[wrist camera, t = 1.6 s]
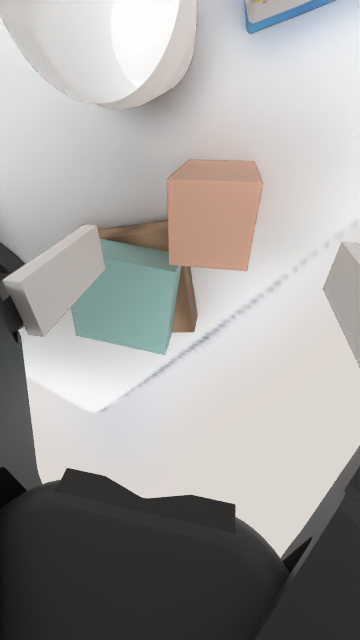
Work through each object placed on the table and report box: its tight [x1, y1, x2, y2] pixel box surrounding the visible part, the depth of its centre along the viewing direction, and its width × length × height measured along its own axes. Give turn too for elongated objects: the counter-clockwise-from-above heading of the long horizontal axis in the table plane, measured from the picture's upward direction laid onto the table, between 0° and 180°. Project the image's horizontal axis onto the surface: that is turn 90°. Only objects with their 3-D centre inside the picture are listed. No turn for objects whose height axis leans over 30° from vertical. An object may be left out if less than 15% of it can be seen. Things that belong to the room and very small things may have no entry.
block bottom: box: [98, 221, 197, 332], centre depth 32 cm, size 13×13×4 cm
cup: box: [0, 0, 198, 110], centre depth 15 cm, size 9×9×12 cm
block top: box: [71, 238, 181, 355], centre depth 29 cm, size 11×11×4 cm
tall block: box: [167, 160, 263, 271], centre depth 22 cm, size 6×6×10 cm
